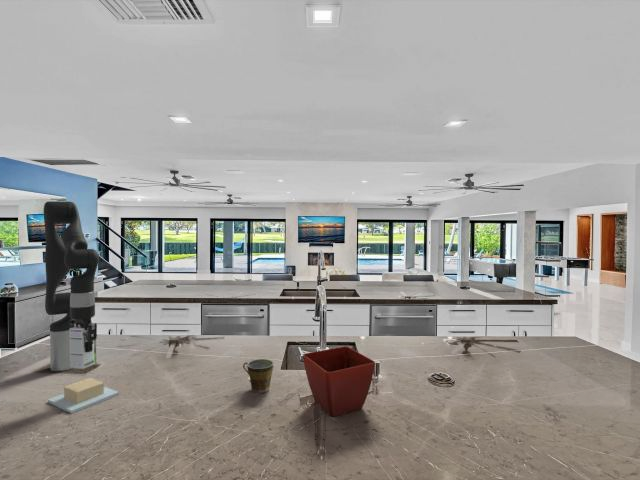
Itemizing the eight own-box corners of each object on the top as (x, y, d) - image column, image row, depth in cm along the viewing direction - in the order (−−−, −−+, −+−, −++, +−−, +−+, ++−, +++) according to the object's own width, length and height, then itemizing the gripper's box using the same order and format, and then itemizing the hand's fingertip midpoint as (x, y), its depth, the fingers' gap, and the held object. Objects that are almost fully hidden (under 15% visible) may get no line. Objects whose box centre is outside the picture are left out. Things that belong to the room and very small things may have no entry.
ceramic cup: (278, 386, 140) (278, 361, 140) (263, 397, 131) (263, 370, 131) (251, 380, 146) (250, 356, 146) (235, 390, 137) (235, 364, 137)
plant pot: (326, 425, 113) (327, 372, 112) (301, 399, 130) (301, 353, 129) (376, 411, 122) (376, 362, 121) (346, 389, 139) (346, 345, 138)
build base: (48, 402, 127) (47, 388, 127) (95, 385, 141) (94, 372, 141) (71, 413, 119) (71, 398, 119) (118, 394, 133) (118, 381, 133)
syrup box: (83, 369, 127) (83, 328, 126) (69, 367, 128) (69, 327, 127) (96, 363, 132) (96, 324, 132) (83, 362, 133) (82, 323, 133)
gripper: (60, 304, 130) (61, 349, 130) (82, 308, 123) (82, 356, 123) (83, 300, 136) (83, 344, 137) (104, 304, 129) (105, 350, 129)
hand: (83, 349), depth 130 cm, fingers closed on syrup box, 6 cm apart
